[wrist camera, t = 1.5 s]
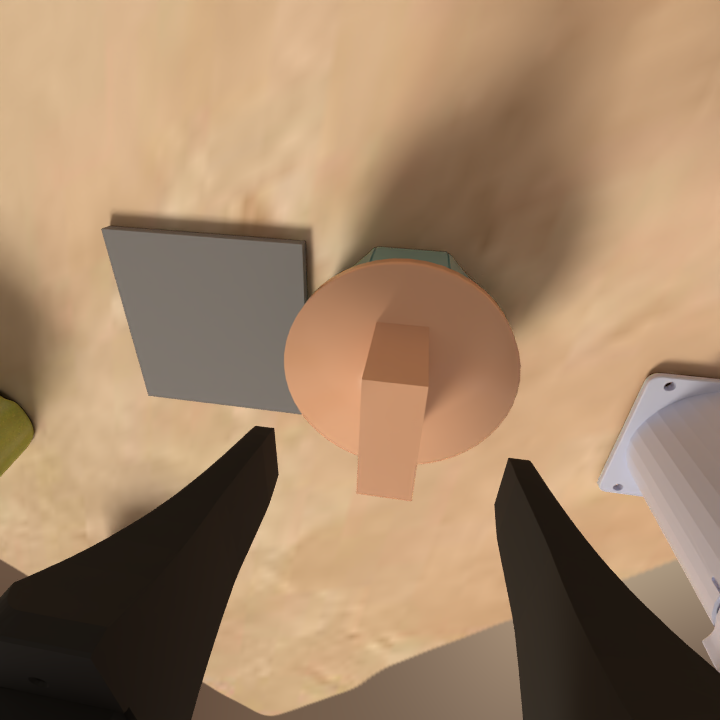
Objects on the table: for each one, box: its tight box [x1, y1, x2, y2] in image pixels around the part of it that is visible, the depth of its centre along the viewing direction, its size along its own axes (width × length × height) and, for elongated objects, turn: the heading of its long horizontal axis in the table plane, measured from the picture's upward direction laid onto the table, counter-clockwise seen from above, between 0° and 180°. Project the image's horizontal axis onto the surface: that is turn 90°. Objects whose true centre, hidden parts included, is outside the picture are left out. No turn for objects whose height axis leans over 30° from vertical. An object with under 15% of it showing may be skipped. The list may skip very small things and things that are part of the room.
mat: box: [101, 226, 307, 414], centre depth 23 cm, size 10×10×1 cm
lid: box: [284, 258, 521, 501], centre depth 16 cm, size 10×10×5 cm
